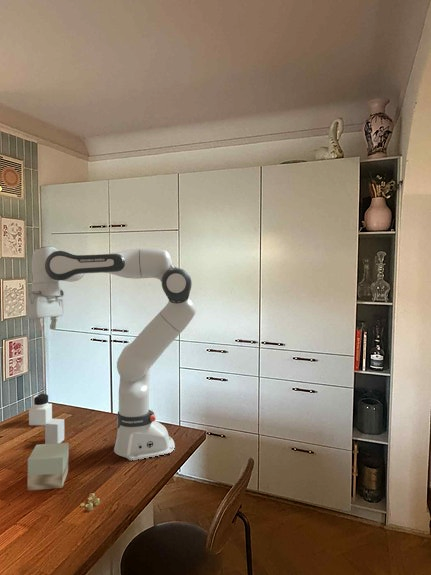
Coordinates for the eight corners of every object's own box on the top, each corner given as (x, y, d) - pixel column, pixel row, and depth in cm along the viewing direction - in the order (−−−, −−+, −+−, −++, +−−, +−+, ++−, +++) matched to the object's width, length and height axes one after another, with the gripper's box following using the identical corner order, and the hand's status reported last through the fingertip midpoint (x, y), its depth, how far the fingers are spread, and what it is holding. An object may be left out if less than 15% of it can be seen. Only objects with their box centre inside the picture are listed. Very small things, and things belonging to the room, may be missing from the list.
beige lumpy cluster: (92, 498, 117) (92, 492, 117) (103, 505, 114) (103, 498, 114) (77, 507, 113) (77, 500, 113) (89, 514, 110) (89, 507, 110)
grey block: (52, 438, 155) (52, 418, 155) (64, 439, 155) (64, 419, 154) (45, 444, 150) (45, 423, 150) (57, 445, 150) (57, 424, 149)
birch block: (68, 471, 131) (68, 457, 131) (62, 488, 122) (62, 472, 121) (36, 473, 130) (36, 459, 129) (27, 491, 120) (27, 475, 119)
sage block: (68, 457, 131) (68, 442, 131) (62, 473, 121) (62, 457, 121) (36, 459, 129) (36, 444, 129) (27, 475, 119) (27, 459, 119)
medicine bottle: (52, 419, 174) (52, 392, 173) (45, 425, 167) (45, 397, 166) (35, 419, 174) (35, 392, 173) (28, 425, 167) (28, 397, 166)
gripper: (39, 290, 132) (40, 331, 132) (66, 292, 153) (67, 327, 152) (21, 291, 133) (22, 332, 132) (50, 293, 153) (51, 328, 153)
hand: (46, 330), depth 142 cm, fingers open, 8 cm apart
